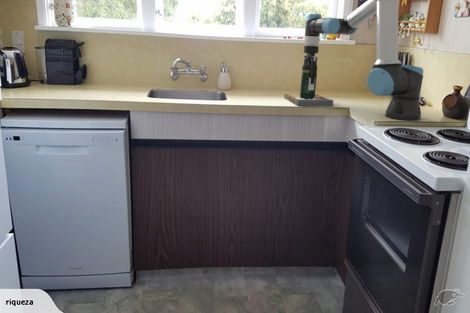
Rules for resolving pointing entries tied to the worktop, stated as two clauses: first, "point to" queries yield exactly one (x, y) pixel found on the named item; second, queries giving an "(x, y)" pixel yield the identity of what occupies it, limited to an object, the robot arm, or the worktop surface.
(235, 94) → the worktop surface
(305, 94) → the coffee jar
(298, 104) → the end stop
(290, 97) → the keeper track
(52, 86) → the worktop surface
